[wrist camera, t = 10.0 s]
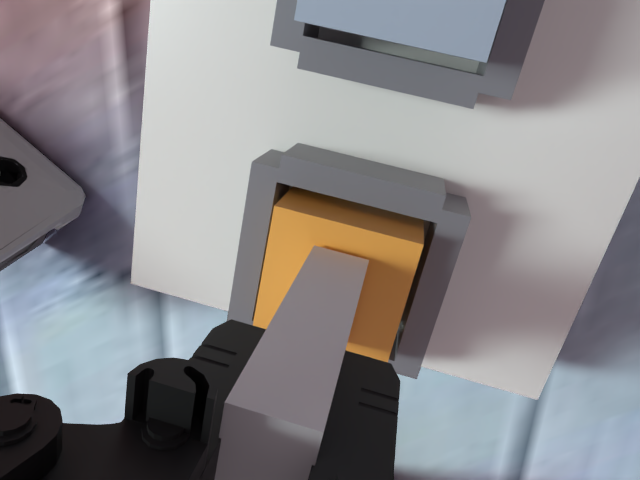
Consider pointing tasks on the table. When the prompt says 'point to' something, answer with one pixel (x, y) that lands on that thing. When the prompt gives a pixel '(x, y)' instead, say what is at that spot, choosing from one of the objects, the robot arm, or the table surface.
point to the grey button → (413, 22)
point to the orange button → (353, 239)
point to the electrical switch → (31, 196)
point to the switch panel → (397, 165)
